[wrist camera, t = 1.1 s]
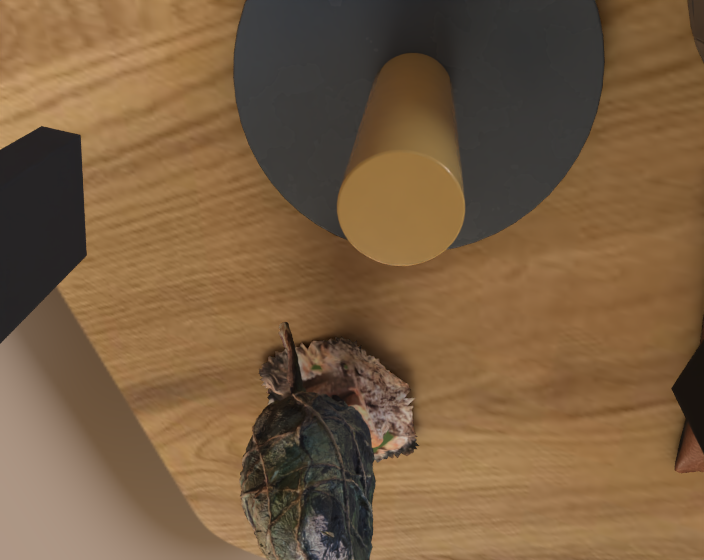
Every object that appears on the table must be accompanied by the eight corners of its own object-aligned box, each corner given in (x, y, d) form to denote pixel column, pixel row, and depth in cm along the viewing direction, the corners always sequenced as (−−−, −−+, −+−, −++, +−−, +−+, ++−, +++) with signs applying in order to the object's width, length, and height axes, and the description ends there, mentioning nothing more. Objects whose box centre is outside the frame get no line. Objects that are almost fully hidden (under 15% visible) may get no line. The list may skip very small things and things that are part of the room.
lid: (261, -168, 20) (106, -227, 10) (665, -73, 20) (874, -45, 10) (227, 202, 27) (119, 364, 18) (522, 269, 27) (569, 465, 18)
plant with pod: (405, 290, 29) (367, 850, 12) (423, 457, 34) (415, 990, 18) (241, 299, 30) (-3, 813, 13) (285, 458, 36) (155, 954, 19)
